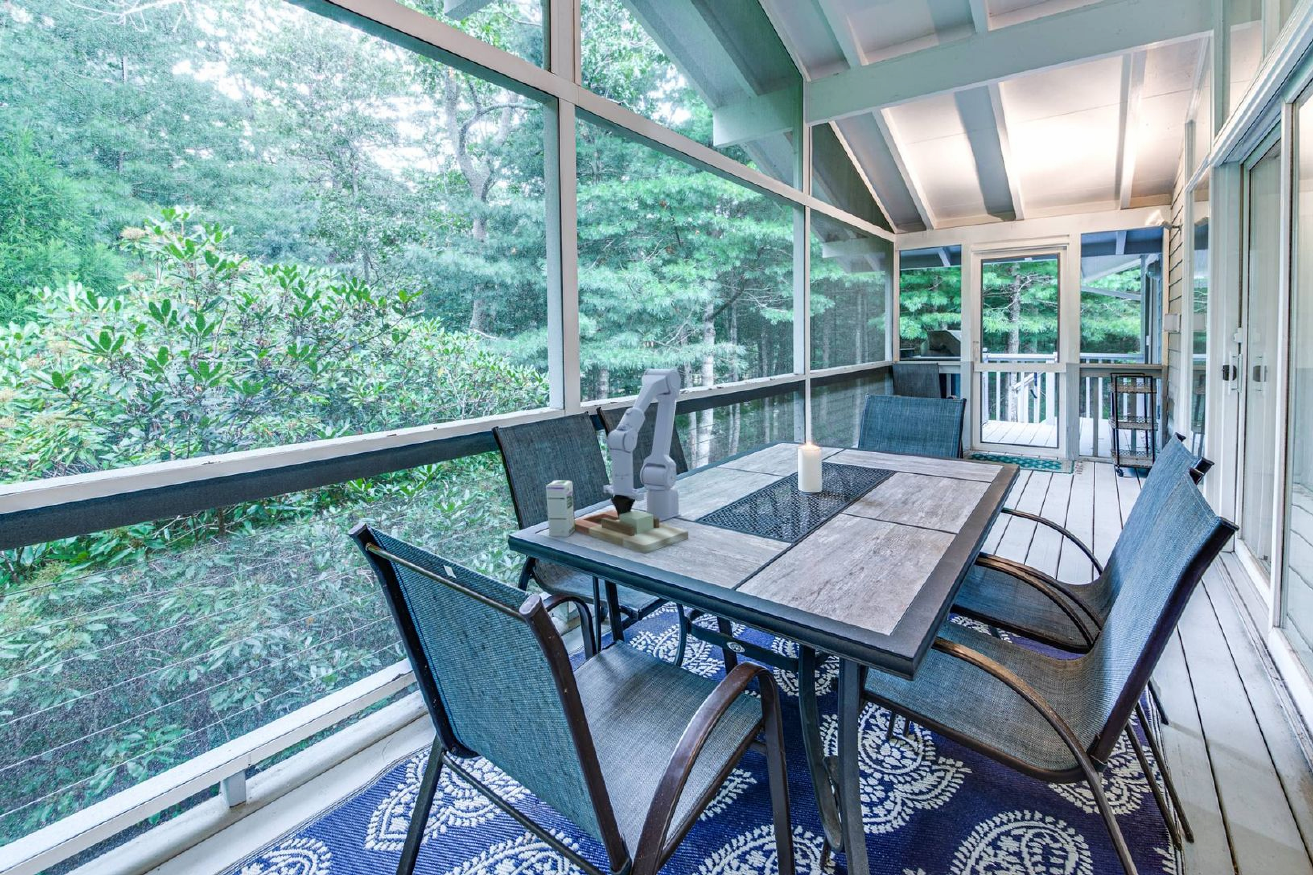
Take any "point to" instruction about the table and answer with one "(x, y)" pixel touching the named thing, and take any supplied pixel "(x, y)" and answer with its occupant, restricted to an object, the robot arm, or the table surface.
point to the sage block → (638, 521)
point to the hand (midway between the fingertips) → (624, 521)
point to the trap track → (629, 532)
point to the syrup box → (560, 508)
